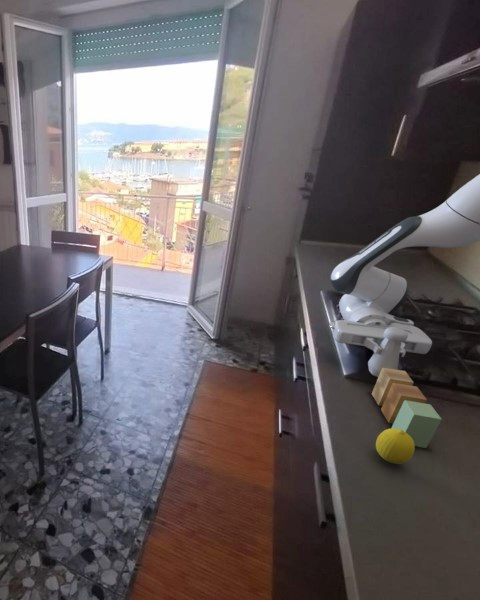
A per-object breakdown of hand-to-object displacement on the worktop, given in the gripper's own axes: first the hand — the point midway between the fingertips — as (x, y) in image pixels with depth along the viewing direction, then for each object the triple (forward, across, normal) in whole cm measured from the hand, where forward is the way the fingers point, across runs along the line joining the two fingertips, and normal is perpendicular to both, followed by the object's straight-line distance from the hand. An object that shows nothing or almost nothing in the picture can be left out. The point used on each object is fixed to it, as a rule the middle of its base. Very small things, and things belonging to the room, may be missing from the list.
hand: (390, 352), depth 87 cm
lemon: (+26, -6, +10) cm, 29 cm away
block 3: (+18, 0, +10) cm, 21 cm away
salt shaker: (-1, 0, +7) cm, 7 cm away
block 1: (+6, 0, +10) cm, 12 cm away
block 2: (+12, 0, +10) cm, 16 cm away
